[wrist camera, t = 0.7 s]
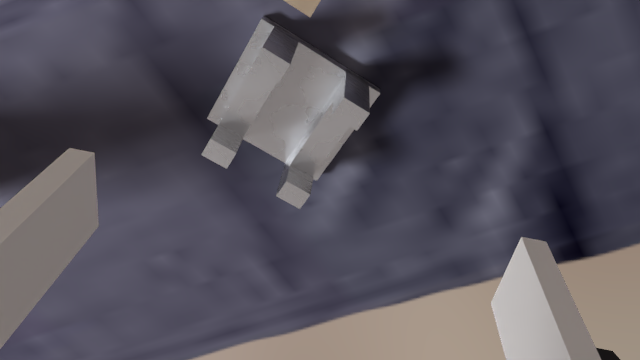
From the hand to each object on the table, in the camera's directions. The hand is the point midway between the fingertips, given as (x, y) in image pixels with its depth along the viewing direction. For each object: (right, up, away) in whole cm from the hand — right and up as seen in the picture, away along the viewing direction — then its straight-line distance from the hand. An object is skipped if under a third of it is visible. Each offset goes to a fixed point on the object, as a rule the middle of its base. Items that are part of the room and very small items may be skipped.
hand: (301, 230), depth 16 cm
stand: (-2, +8, +24) cm, 25 cm away
